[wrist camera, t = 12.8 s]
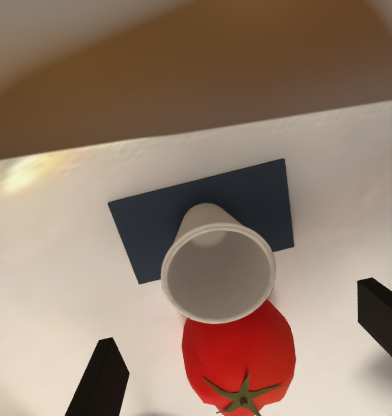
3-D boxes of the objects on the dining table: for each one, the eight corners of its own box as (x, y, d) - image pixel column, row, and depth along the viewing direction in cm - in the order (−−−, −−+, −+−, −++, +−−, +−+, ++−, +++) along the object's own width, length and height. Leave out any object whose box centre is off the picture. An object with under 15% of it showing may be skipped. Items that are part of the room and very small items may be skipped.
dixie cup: (253, 233, 25) (297, 289, 15) (196, 269, 26) (203, 342, 16) (216, 176, 23) (240, 199, 13) (155, 218, 24) (135, 267, 14)
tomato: (175, 278, 27) (170, 361, 17) (270, 264, 27) (322, 338, 17) (190, 355, 31) (192, 458, 20) (272, 342, 31) (315, 439, 21)
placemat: (283, 158, 23) (284, 158, 22) (292, 245, 26) (294, 246, 26) (108, 202, 23) (107, 203, 23) (139, 282, 27) (138, 284, 26)
